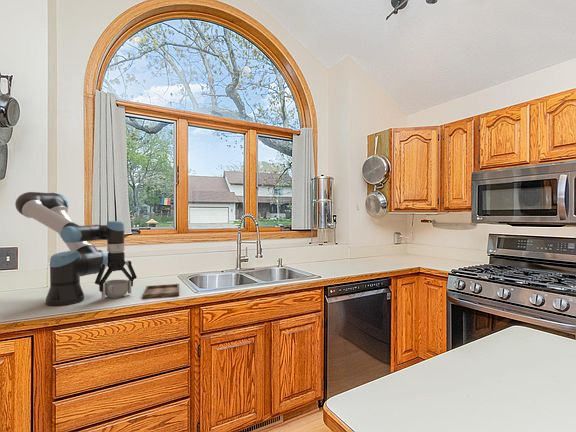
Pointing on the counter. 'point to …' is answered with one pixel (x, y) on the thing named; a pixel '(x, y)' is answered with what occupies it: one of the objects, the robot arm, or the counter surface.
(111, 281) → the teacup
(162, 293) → the brown wooden tray
